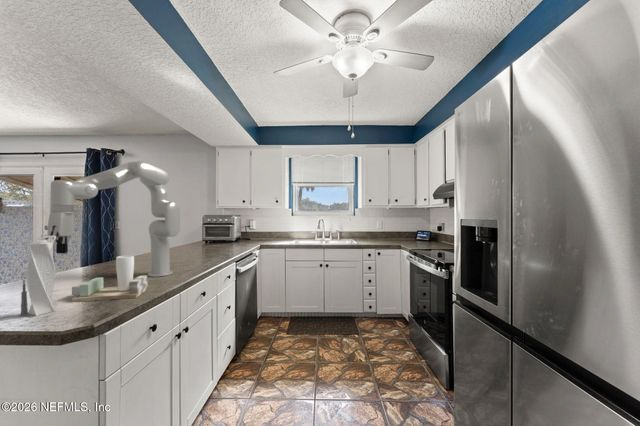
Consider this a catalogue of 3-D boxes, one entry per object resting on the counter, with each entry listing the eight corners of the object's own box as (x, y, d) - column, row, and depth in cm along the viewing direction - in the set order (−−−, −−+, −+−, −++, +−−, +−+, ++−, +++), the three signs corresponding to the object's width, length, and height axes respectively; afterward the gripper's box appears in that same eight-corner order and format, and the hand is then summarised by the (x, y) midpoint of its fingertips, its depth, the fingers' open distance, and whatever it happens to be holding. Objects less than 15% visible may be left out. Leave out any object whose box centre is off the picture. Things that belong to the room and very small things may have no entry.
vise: (92, 291, 132) (92, 277, 131) (148, 288, 137) (148, 274, 137) (71, 302, 116) (71, 286, 116) (136, 297, 122) (135, 282, 122)
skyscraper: (48, 308, 110) (48, 235, 110) (61, 310, 107) (61, 235, 107) (19, 315, 102) (18, 237, 102) (32, 318, 99) (31, 237, 99)
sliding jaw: (85, 288, 130) (85, 278, 130) (103, 287, 131) (103, 277, 131) (68, 297, 117) (68, 285, 117) (88, 295, 119) (88, 284, 119)
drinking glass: (137, 289, 130) (137, 256, 129) (120, 292, 124) (120, 258, 124) (129, 287, 133) (129, 254, 133) (113, 290, 127) (113, 256, 127)
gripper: (62, 209, 128) (62, 251, 128) (39, 209, 113) (38, 255, 113) (82, 210, 130) (82, 250, 130) (62, 209, 115) (61, 255, 115)
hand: (61, 252), depth 121 cm, fingers closed
